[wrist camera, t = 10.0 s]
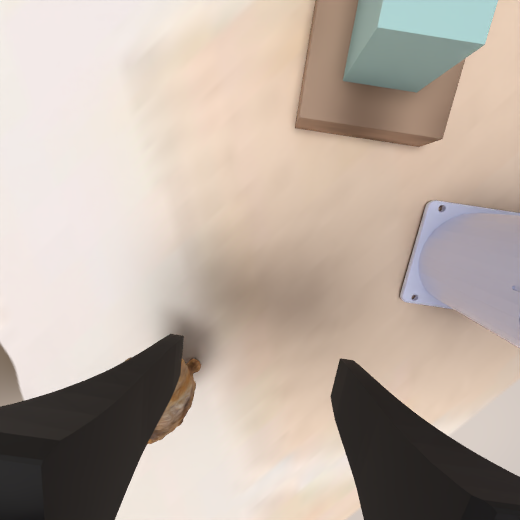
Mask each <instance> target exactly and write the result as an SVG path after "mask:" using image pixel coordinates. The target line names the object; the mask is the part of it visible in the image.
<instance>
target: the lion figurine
mask: <svg viewBox="0 0 520 520" xmlns="http://www.w3.org/2000/svg"><path fill="white" fill-rule="evenodd" d="M131 358H132V357H131ZM129 359H130V358H128V359H127V360H129ZM127 360H126V361H127ZM200 366H201V364H200V362H199V361H198V360H196V359H191V360H190V361H189V362H188V363H187V364H185V361H184V360H183V359H182V362H181V374H180V377H179V380H178V383H177V385H176V388H175V391H174V393H173V396H172V398H171V400H170V402H169V403H168V405H167V407H166V409H165V411H164V413H163V415H162V417H161V419H160V420H159V422H158V424H157V426H156V428H155V430H154V432H153V434H152V436H151V437H150V439H149V441H148V443H147V444H152V443H154V442H156V441H158V440H161V439H163V438H164V437H165V436H166V435H167V434H169V433H170V432H172V431H173V430H174V429H175V428H176V427H177V426H179V425H181V423H182V422H183V418H184V417H185V416H186V414H187V412H188V410H189V409H190V407H191V405H192V401H193V397H194V390H195V388H196V383H195V381H194V379H193V373H195V372H198V371H199V370H200Z"/></svg>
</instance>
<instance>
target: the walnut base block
mask: <svg viewBox="0 0 520 520" xmlns="http://www.w3.org/2000/svg"><path fill="white" fill-rule="evenodd" d="M358 1H359V0H316V1H315V7H314V13H313V19H312V26H311V32H310V38H309V44H308V50H307V56H306V63H305V69H304V75H303V81H302V87H301V94H300V100H299V106H298V112H297V118H296V124H295V128H299V129H306V130H313V131H319V132H326V133H332V134H339V135H346V136H352V137H359V138H365V139H372V140H379V141H385V142H392V143H398V144H405V145H412V146H418V147H420V146H423V145H426V144H429V143H432V142H435V141H438V140H441V139H442V138H443V135H444V131H445V128H446V124H447V121H448V117H449V114H450V110H451V107H452V103H453V100H454V96H455V93H456V90H457V86H458V83H459V79H460V76H461V72H462V69H463V65H464V62H465V59H463V60H462V61H461V62H459V63H458V64H456V65H455V66H454V67H452V68H451V69H449V70H448V71H446V72H445V73H444V74H442V75H441V76H439V77H438V78H437V79H435V80H434V81H432V82H431V83H429V84H428V85H427V86H425V87H424V88H422V89H421V90H420V91H418V92H417V93H416V92H410V91H404V90H397V89H391V88H385V87H378V86H372V85H366V84H359V83H353V82H347V81H343V77H344V72H345V67H346V62H347V57H348V52H349V46H350V41H351V36H352V31H353V26H354V21H355V16H356V11H357V6H358Z"/></svg>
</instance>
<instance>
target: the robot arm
mask: <svg viewBox="0 0 520 520" xmlns="http://www.w3.org/2000/svg"><path fill="white" fill-rule="evenodd" d="M439 206H442V210H441V211H440V212H439V210H438V208H439ZM413 295H416V296H415V298H413V299H412V296H413ZM400 297H401V299H402V300H403V301H404V302H408V303H415V304H422V305H428V306H435V307H442V308H449V309H454V310H456V311H458V312H459V313H461V314H463V315H464V316H466V317H468V318H469V319H471V320H473V321H474V322H476V323H478V324H480V325H481V326H483V327H485V328H486V329H488V330H490V331H491V332H493V333H495V334H496V335H498V336H500V337H501V338H503V339H505V340H507V341H508V342H510V343H512V344H513V345H515V346H517V347H518V348H520V213H517V212H510V211H503V210H497V209H490V208H483V207H477V206H470V205H463V204H457V203H450V202H443V201H430V202H428V203H427V205H426V207H425V211H424V214H423V217H422V221H421V224H420V228H419V231H418V235H417V238H416V242H415V245H414V249H413V252H412V256H411V259H410V262H409V266H408V269H407V273H406V276H405V280H404V283H403V287H402V290H401V294H400ZM183 338H184V336H180V335H173V334H170V335H168V336H166V337H165V338H163V339H162V340H160V341H158V342H157V343H155V344H154V345H152V346H151V347H149V348H147V349H146V350H144V351H142V352H141V353H139V354H138V355H136V356H134V357H132V358H130V359H129V360H127V361H125V362H123V363H121V364H119V365H118V366H116V367H114V368H112V369H110V370H108V371H106V372H103V373H101V374H99V375H97V376H94V377H92V378H90V379H87V380H85V381H82V382H80V383H77V384H74V385H72V386H69V387H66V388H64V389H61V390H58V391H55V392H52V393H49V394H46V395H43V396H39V397H36V398H32V399H29V400H25V401H22V402H18V403H14V404H11V405H6V406H2V407H0V520H115V517H116V515H117V512H118V510H119V508H120V505H121V503H122V500H123V498H124V495H125V493H126V490H127V488H128V486H129V483H130V481H131V478H132V476H133V474H134V471H135V469H136V467H137V464H138V462H139V460H140V457H141V455H142V453H143V451H144V449H145V447H146V445H147V443H148V441H149V439H150V437H151V436H152V434H153V432H154V430H155V428H156V426H157V424H158V422H159V420H160V419H161V417H162V415H163V413H164V411H165V409H166V407H167V405H168V403H169V402H170V400H171V398H172V396H173V393H174V391H175V388H176V385H177V383H178V380H179V377H180V374H181V362H182V350H183ZM331 401H332V407H333V412H334V417H335V421H336V424H337V427H338V430H339V434H340V437H341V440H342V443H343V446H344V449H345V452H346V455H347V458H348V461H349V464H350V467H351V470H352V474H353V477H354V480H355V484H356V487H357V491H358V496H359V500H360V504H361V509H362V513H363V517H364V520H520V477H519V476H517V475H515V474H513V473H511V472H509V471H507V470H505V469H503V468H502V467H500V466H498V465H496V464H494V463H492V462H490V461H489V460H487V459H485V458H483V457H481V456H480V455H478V454H476V453H475V452H473V451H471V450H469V449H468V448H466V447H464V446H463V445H461V444H460V443H458V442H456V441H455V440H453V439H452V438H450V437H449V436H447V435H446V434H444V433H443V432H441V431H439V430H438V429H437V428H435V427H434V426H432V425H431V424H430V423H428V422H427V421H425V420H424V419H422V418H421V417H420V416H418V415H417V414H416V413H414V412H413V411H412V410H411V409H409V408H408V407H407V406H406V405H404V404H403V403H402V402H401V401H399V400H398V399H397V398H396V397H395V396H393V395H392V394H391V393H390V392H389V391H388V390H386V389H385V388H384V387H383V386H382V385H381V384H380V383H379V382H377V381H376V380H375V379H374V378H373V377H372V376H371V375H370V374H369V373H367V372H366V371H365V370H364V369H363V368H362V367H361V366H360V365H358V364H357V363H356V362H355V361H353V360H347V359H340V361H339V365H338V369H337V373H336V377H335V381H334V385H333V389H332V393H331Z"/></svg>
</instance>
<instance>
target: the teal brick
mask: <svg viewBox="0 0 520 520" xmlns="http://www.w3.org/2000/svg"><path fill="white" fill-rule="evenodd" d="M497 2H498V0H359V1H358V6H357V11H356V16H355V21H354V26H353V31H352V36H351V41H350V46H349V52H348V57H347V62H346V67H345V72H344V77H343V81H347V82H353V83H359V84H366V85H372V86H378V87H385V88H391V89H397V90H404V91H410V92H416V93H417V92H418V91H420V90H421V89H422V88H424V87H425V86H427V85H428V84H429V83H431V82H432V81H434V80H435V79H437V78H438V77H439V76H441V75H442V74H444V73H445V72H446V71H448V70H449V69H451V68H452V67H454V66H455V65H456V64H458V63H459V62H461V61H462V60H463V59H465V58H466V57H468V56H469V55H471V54H472V53H473V52H475V51H476V50H478V49H479V48H480V47H482V46H483V45H485V42H486V39H487V35H488V32H489V29H490V25H491V22H492V19H493V15H494V12H495V9H496V5H497Z"/></svg>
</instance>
